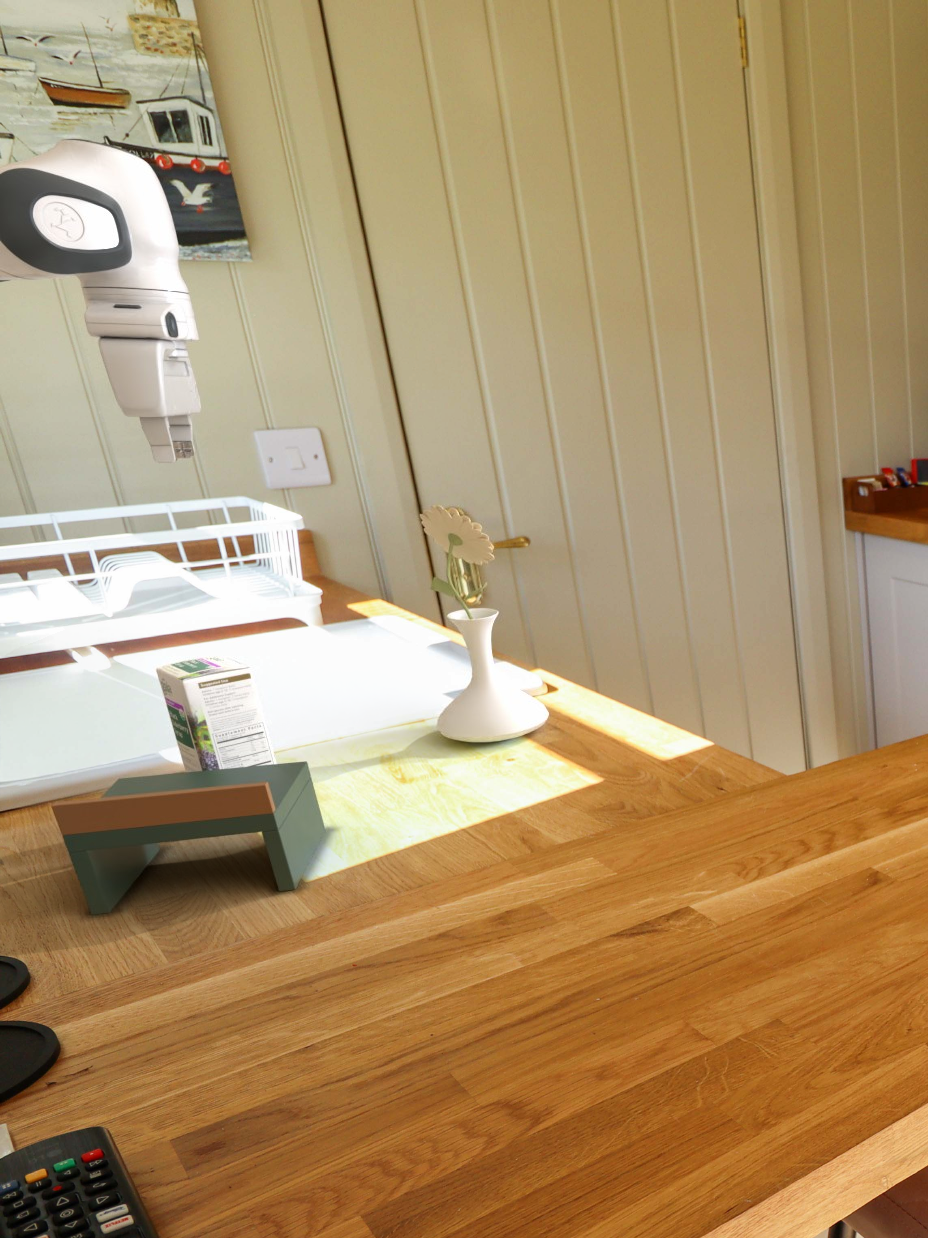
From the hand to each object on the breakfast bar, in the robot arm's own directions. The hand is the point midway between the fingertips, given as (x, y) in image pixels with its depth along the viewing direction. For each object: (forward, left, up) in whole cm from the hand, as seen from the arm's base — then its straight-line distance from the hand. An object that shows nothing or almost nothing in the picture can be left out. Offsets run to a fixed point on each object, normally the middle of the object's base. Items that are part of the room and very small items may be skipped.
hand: (176, 460), depth 125 cm
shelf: (+9, -47, -28) cm, 56 cm away
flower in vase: (+28, -17, -28) cm, 43 cm away
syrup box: (+8, -34, -28) cm, 45 cm away
